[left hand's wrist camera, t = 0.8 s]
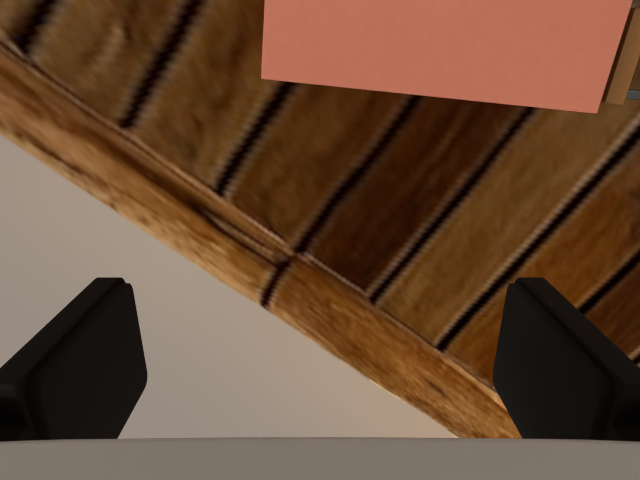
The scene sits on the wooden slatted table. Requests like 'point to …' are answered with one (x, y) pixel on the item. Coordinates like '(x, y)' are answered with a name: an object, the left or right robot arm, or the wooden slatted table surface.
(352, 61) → the cabinet
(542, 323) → the left robot arm
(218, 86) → the wooden slatted table surface
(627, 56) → the drawer
